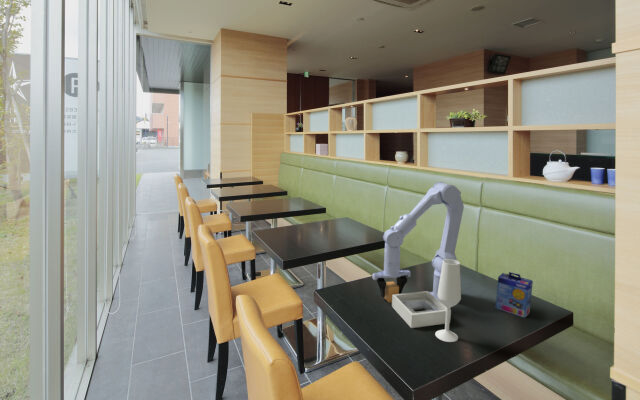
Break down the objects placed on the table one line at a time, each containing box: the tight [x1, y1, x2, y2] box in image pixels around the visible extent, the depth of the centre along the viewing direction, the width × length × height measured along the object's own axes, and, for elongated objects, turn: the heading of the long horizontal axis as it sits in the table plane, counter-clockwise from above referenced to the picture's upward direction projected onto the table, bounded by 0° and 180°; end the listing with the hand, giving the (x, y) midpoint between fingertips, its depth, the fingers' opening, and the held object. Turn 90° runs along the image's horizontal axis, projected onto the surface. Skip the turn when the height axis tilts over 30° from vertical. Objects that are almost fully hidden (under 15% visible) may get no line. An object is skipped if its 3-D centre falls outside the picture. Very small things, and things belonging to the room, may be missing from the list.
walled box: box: [391, 290, 452, 329], centre depth 120 cm, size 14×15×4 cm
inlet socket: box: [401, 298, 439, 314], centre depth 120 cm, size 10×10×3 cm
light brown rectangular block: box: [384, 280, 399, 304], centre depth 131 cm, size 4×5×6 cm
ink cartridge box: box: [495, 271, 534, 318], centre depth 121 cm, size 10×6×14 cm, turn 45°
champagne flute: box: [434, 259, 462, 343], centre depth 105 cm, size 7×7×24 cm
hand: (390, 295), depth 131 cm, fingers open, 6 cm apart
